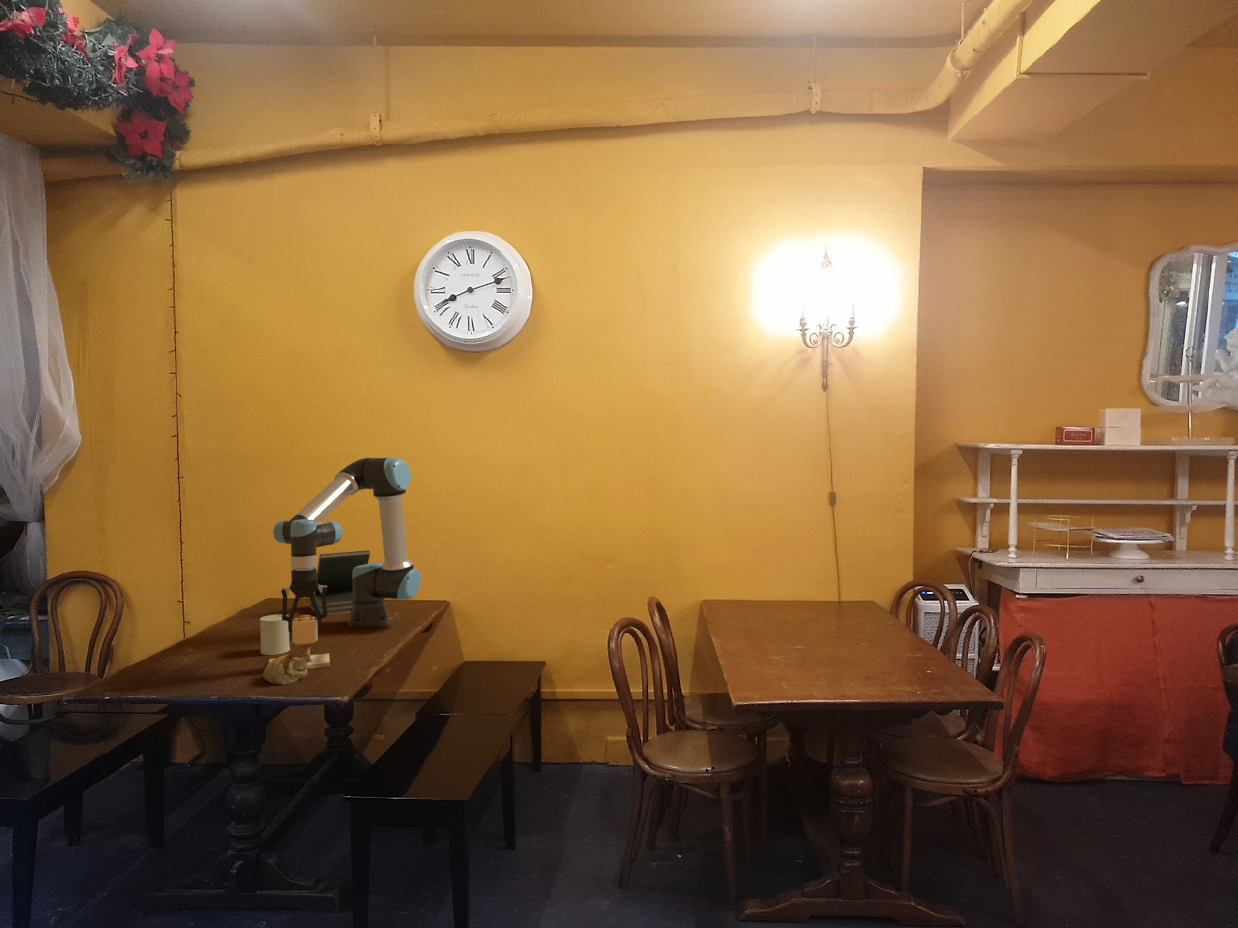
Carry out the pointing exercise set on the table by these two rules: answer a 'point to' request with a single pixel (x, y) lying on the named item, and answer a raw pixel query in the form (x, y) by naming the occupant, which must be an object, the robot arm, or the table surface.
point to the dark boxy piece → (338, 580)
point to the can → (274, 635)
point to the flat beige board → (314, 658)
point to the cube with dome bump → (304, 629)
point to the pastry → (286, 669)
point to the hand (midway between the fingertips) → (305, 640)
